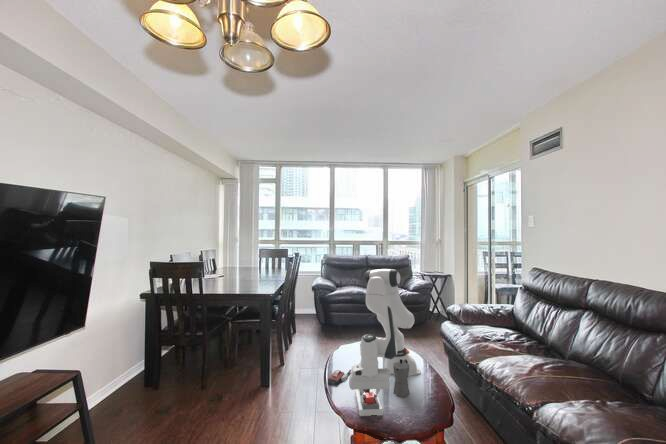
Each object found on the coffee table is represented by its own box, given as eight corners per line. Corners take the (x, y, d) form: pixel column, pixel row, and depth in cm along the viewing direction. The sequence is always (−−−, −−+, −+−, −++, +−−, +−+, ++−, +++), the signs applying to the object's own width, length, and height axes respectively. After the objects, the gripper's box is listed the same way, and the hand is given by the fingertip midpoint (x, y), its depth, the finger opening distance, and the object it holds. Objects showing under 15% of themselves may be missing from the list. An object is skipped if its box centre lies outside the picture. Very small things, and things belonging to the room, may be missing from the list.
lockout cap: (374, 406, 146) (374, 397, 146) (366, 406, 145) (366, 397, 145) (372, 401, 150) (372, 392, 150) (364, 401, 149) (364, 392, 149)
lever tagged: (367, 395, 155) (371, 376, 155) (367, 398, 152) (372, 379, 153) (363, 394, 155) (368, 376, 155) (364, 397, 152) (369, 378, 153)
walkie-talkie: (340, 387, 170) (352, 372, 188) (339, 379, 170) (352, 365, 188) (326, 384, 173) (339, 370, 192) (326, 376, 174) (339, 363, 192)
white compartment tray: (374, 393, 162) (374, 384, 163) (382, 415, 143) (382, 404, 144) (355, 394, 162) (354, 385, 162) (359, 416, 143) (359, 405, 143)
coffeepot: (405, 401, 156) (405, 366, 156) (388, 395, 161) (388, 361, 161) (415, 388, 168) (414, 356, 169) (399, 383, 174) (398, 352, 174)
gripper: (388, 365, 151) (388, 393, 151) (348, 366, 151) (348, 394, 150) (391, 371, 145) (391, 400, 145) (349, 372, 144) (350, 401, 144)
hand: (369, 397), depth 147 cm, fingers open, 5 cm apart
